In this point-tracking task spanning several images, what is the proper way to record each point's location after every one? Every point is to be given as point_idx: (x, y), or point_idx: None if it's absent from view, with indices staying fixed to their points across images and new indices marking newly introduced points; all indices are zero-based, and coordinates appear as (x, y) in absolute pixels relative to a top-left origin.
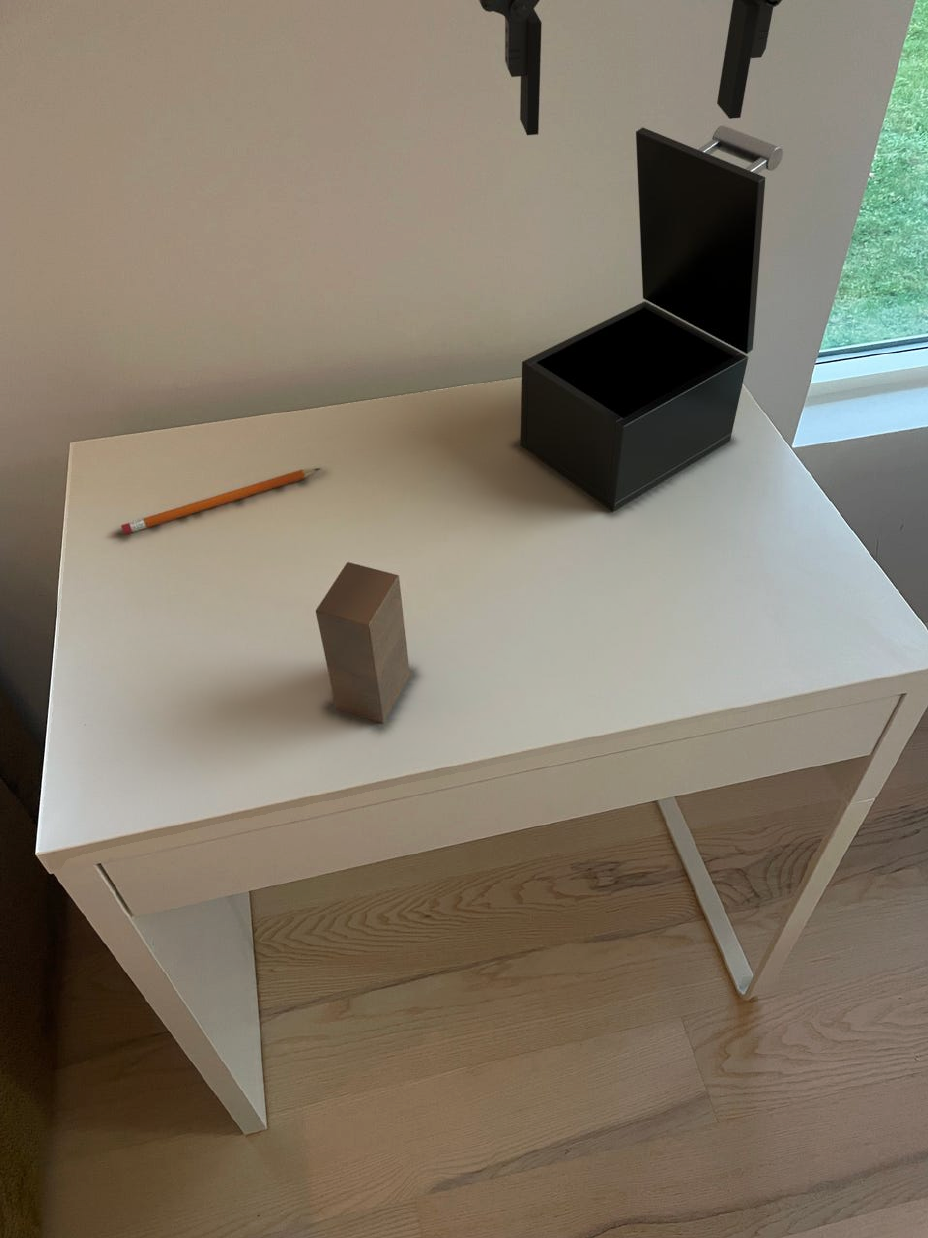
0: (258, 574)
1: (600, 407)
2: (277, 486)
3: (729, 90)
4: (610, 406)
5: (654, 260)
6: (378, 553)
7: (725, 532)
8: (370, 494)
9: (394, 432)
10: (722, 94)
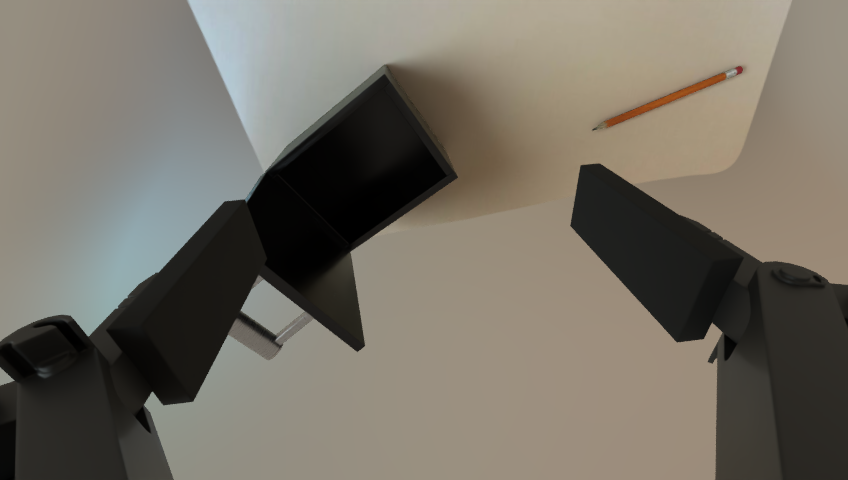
0: (658, 11)
1: (401, 105)
2: (624, 113)
3: (238, 236)
4: (376, 186)
5: (342, 262)
6: (568, 28)
7: (296, 29)
8: (560, 102)
9: (531, 171)
10: (254, 254)
